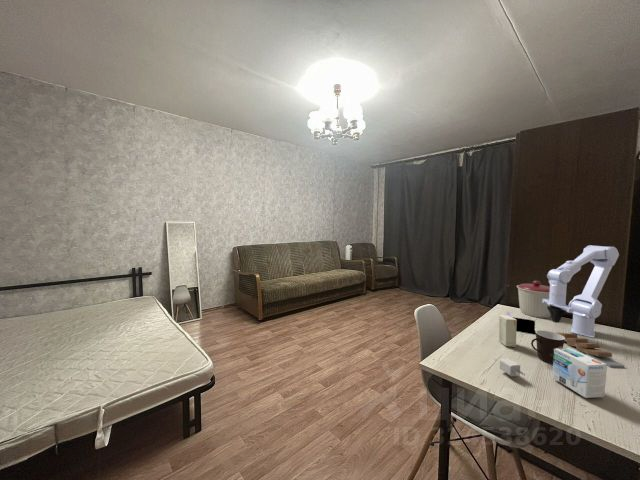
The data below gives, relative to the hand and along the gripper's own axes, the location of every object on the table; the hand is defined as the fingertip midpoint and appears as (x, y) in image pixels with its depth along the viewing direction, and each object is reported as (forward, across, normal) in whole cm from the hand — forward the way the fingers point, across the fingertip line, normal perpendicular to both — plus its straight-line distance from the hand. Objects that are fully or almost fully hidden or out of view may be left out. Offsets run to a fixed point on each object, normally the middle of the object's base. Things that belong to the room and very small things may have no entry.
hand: (555, 322), depth 118 cm
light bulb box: (+7, +39, -26) cm, 48 cm away
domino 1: (+6, 0, 0) cm, 6 cm away
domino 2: (+6, +4, 0) cm, 8 cm away
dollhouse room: (+7, -8, -10) cm, 15 cm away
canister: (+7, -28, +12) cm, 31 cm away
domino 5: (+7, +18, 0) cm, 19 cm away
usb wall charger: (+7, +34, -42) cm, 55 cm away
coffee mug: (+7, +22, -22) cm, 32 cm away
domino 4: (+6, +14, 0) cm, 15 cm away
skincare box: (+7, +10, -29) cm, 31 cm away
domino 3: (+6, +9, 0) cm, 11 cm away
